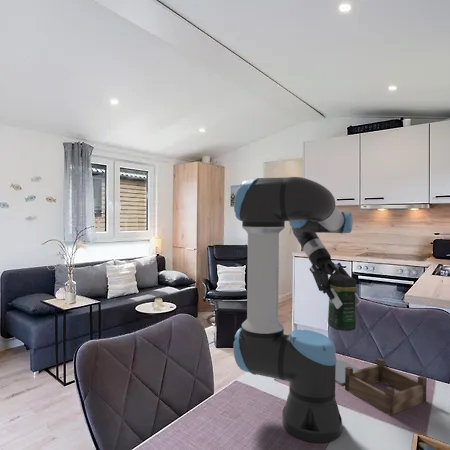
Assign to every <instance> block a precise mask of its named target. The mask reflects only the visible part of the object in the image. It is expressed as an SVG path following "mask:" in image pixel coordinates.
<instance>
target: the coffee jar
mask: <svg viewBox="0 0 450 450" xmlns="http://www.w3.org/2000/svg"><path fill="white" fill-rule="evenodd" d="M349 276H350V275H349ZM349 276H346V275H343V274H332V275H330V276H328V278H329V283H330V289H331V288H333V289H334V291H335V293H336V294H337V296H338V297H339V299H340V301H341V302H342V304H343V305H342V306H341V307H340V308H339V309H336V307H335V305H334V303H333V302H332V300H330V298H329V297H328V310H327V311H328V312H327V313H328V314H327V316H328V317H327V324H328V326H329V327H331V328H333V329H334V330H336V331H344V332H351V331H354V330H356V327H357V325H356V324H357V323H356V321H357V319H356V306H355V292H357V280H356V279H355V278H354V277H352V276H350V277H349Z"/></svg>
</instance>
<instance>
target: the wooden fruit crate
mask: <svg viewBox="0 0 450 450" xmlns="http://www.w3.org/2000/svg"><path fill="white" fill-rule="evenodd" d="M359 369H360V370H357V371H353V368H351V367H345V384H344V389H345V391H347V392H348V393H351V394H352V395H354V396H356V397H357V398H359V399H361V400H362V401H365V403H368V404H370V405H371V406H373V407H374V408H377V409H378V410H380V411H381V412H383V413H385V414H387V415H388V416H392V415H394V414H397V413H400V412H402V411H406V410H408V409H411V408H414V407H416V406H418V405H420V404H424V403H427V383H428V380H427V377H425V376H423V375H419V376H418V377H417V380H416V379H414V378H412V377H410V376H407V375H406V374H403V373H401V372H399V371H397V370H394V369H392V368H389V367H387V366H385V359H382V357H380V358H376V364H375V365H372V366H369V367H365V368H359ZM376 382H383V383H384V384H386V385H388V386H385V387H384V391H383V390H381V389H379V388H377V387H375V386H373V385H371V384H374V383H376ZM395 389H396V390H398V391H397V392H395Z"/></svg>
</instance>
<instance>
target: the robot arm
mask: <svg viewBox="0 0 450 450" xmlns="http://www.w3.org/2000/svg"><path fill="white" fill-rule="evenodd" d="M233 206H234V207H233V209H234V213H235V214H234V215H235V217H236V219H237V220H239V221H240V222H242V223H241V224H242V225H241V226H242V229H243V230H244V231H245V232H246V234H247V270H246V272H247V279H246V280H247V281H246V282H247V284H246V285H247V289H246V291H247V292H246V293H247V296H246V297H247V299H246V301H247V305H246V307H247V308H246V310H247V311H246V313H247V314H246V319H245V320H244V321H243V322H242V323H241V327H239V329H238V330H237V331H236V333H235V335H234V341H233V347H232V348H233V357H234V361H235V363H236V365H237V367H238V368H239V369H240V370H242V371H243V372H246V373H250V374H252V375H254V376H256V375H258V376H263V377H266V378H271V379H277V380H281V381H285V382H289V384H288V385H289V392H288V395H287V399H286V401H285V405H284V407H283V409H282V418H281V421H282V425H283V427H284V429H285V430H286V431H287V432H288V433H289V434H291V435H292V436H294V437H295V438H298V439H299V440H303V441H307V442H309V443H310V442H312V443H329V442H332V441H335V440H336V439H338V438H339V437H340V436H341V434H342V433H343V420H342V419H343V418H342V416H341V414H340V410H339V406H338V403H337V399H336V382H335V373H336V361H337V360H338V359H337V356H336V355H337V353H336V346H335V343H334V342H333V341H332V339H331V338H329V337H328V336H326V334H325V335H324V334H322V333H321V332H317V331H314V330H311V329H309V330H308V329H294V330H292V331H291V332H290V333H289V334H285V333H284V331H285V328H284V324H283V323H282V322H281V321H280V320H279V274H280V273H279V272H280V271H279V268H280V266H279V265H280V261H279V259H280V257H279V254H280V253H279V251H280V250H279V248H280V244H279V243H280V233H281V232H282V231H284V229H285V228H286V227H285V223H286V222H289V226H290V227H291V231H292V233H293V235H294V237H295V239H296V240H297V241H298V243H299V244H300V246H301V248H302V250H303V252H304V253H305V255H306V256H307V258H308V260H309V262H310V263H311V266H310V267H309V268H308V269H309V271H310V272H311V274H312V276H313V278H314V281H315V284H316V286H317V289H318V291H319V292H322V293H323V294H324V295H325V294H326V295H327V297H328V299H329V298H330V300H332V302H333V303H334V305H335V307H336V309H339V308H340V307H341V306H342V305H343V304H342V302H341V301H340V299H339V297H338V296H337V294H336V293H335V291H334V289H333V288H331V289H330V283H329V275H330V276H331V275H332V274H343V275H346V276H349V277H351V276H350V275H349V273H348V272H347V271H346V269H344V266H342V264H341V262H338V263H335V262H333V261H332V257H331V253H330V252H329V251H328V249H326V246H325V244H324V243H323V242H322V240H321V239H320V237H319V236H318V233H325V234H326V233H327V234H341V235H342V234H350V233H351V232H352V231H353V214H352V213H351V212H347V211H341V210H340V209H339V208H338V206H337V205H336V200H335V197H334V195H333V193H332V192H331V191H330V190H329V189H328V188H326V186H324V185H323V184H320V183H318V182H317V181H314V180H311V179H308V178H305V177H300V176H290V177H289V176H287V177H285V176H284V177H258V178H257V177H256V178H252V179H246V180H244V181H242V182H241V183H240V184H239V187H238V188H237V190H236V193H235V197H234V203H233ZM361 303H362V300H361V297H360V296H359V295H358V293H357V291H356V292H355V307H357V306H359V305H360V304H361Z"/></svg>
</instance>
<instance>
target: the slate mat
mask: <svg viewBox="0 0 450 450" xmlns="http://www.w3.org/2000/svg"><path fill="white" fill-rule="evenodd" d="M336 360H337V361H336V373H335V383H336V384H339V385H340V386H345V367H351V368H353V371H357V370H360V369H361V368H359V367H357V366H355V365H353V364H350V362H347V361H344V360H342V359H336Z"/></svg>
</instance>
